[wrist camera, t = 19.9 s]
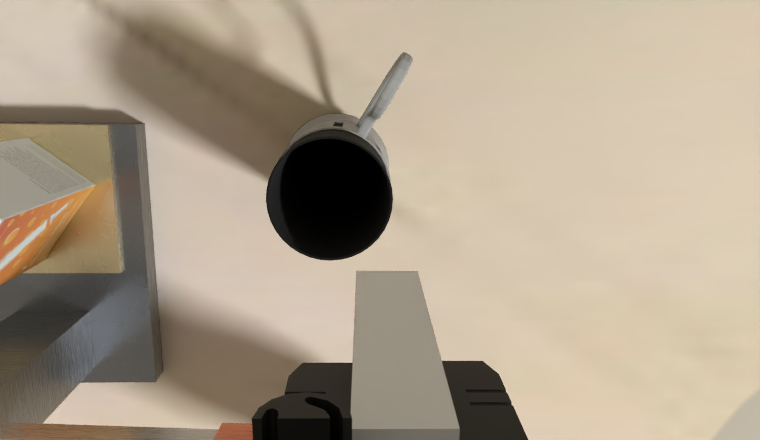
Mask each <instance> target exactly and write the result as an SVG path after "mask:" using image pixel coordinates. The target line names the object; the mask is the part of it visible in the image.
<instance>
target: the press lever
mask: <svg viewBox="0 0 760 440" xmlns="http://www.w3.org/2000/svg"><path fill="white" fill-rule="evenodd" d="M0 440H253V431H252V424H239V423H222V424H221V426H220V428H219V430H218V429H187V428H156V427H126V426H95V425H65V424H34V423H4V422H0Z"/></svg>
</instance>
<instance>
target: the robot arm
mask: <svg viewBox="0 0 760 440" xmlns="http://www.w3.org/2000/svg"><path fill="white" fill-rule="evenodd" d="M252 431H253V440H528V438H527V436H526V434H525V432H524V429H523V427H522V425H521V423H520V420H519V418H518V416H517V414H516V412H515V409H514V407H513V406H512V405H511V400H510V398H509V396H508V394H507V393H506V389H505V387H504V385H503V382H502V380H501V378H500V376H499V374H498V373H497V372H495V371H494V370H493V369H492V368H490V367H489V366H488V365H487V364H485V363H484V362H483V361H442V360H441V357H440V353H439V349H438V346H437V342H436V338H435V334H434V331H433V327H432V323H431V320H430V316H429V312H428V308H427V305H426V301H425V297H424V294H423V290H422V286H421V282H420V279H419V275H418V271H356V292H355V316H354V341H353V363H302V364H301V365H300V366H299V367H298V368H297V369H296V370H295V371H294V372H293V373H292V374H291V375H290V376H289V378H288V382H287V386H286V390H285V395H284V396H281V397H278V398H275V399H272V400H270V401H269V402H267V403H266V404H264V405H263V406H261V407H260V408H259V409H258V410H257V412H256V413H255V415H254V416H253V418H252Z"/></svg>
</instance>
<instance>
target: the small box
mask: <svg viewBox="0 0 760 440" xmlns="http://www.w3.org/2000/svg"><path fill="white" fill-rule="evenodd" d="M94 187H95V184H94V183H93V182H92V181H90V180H89V179H87V178H86V177H84V176H83V175H81V174H80V173H78V172H77V171H76V170H74V169H73V168H71V167H70V166H68V165H67V164H65V163H64V162H62V161H61V160H60V159H58V158H57V157H55V156H54V155H53V154H51V153H50V152H48V151H47V150H45V149H44V148H42V147H41V146H39V145H38V144H36V143H35V142H33V141H32V140H31V139H29V138H21V139H15V140H8V141H2V142H0V285H1V284H3V283H5V282H7V281H9V280H10V279H12V278H14V277H16V276H18V275H19V274H21V273H23V272H25V271H27V270H29V269H30V268H32V267H34V266H36V265H38V264H39V263H41V262H43V261H44V260H45V259H46V257H47V255H48V254H49V252H50V251H51V249H52V247H53V246H54V244H55V243H56V241H57V240H58V238H59V237H60V235H61V234H62V233H63V231H64V230H65V228H66V227H67V225H68V224H69V222H70V221H71V219H72V218H73V217H74V215H75V214H76V212H77V211H78V210H79V208H80V207H81V205H82V204H83V202H84V201H85V200H86V198H87V197H88V196H89V194H90V193H91V191H92V190H93V189H94Z"/></svg>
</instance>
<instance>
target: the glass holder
mask: <svg viewBox="0 0 760 440" xmlns="http://www.w3.org/2000/svg"><path fill="white" fill-rule="evenodd" d="M412 61H413V58H412V57H411V56H410V55H409V54H407V53H404V52H403V53H402V54H401V55H400V56H399V58H398V59H397V60H396V62H395V63H394V65H393V66H392V68H391V69H390V71H389V72H388V74H387V75H386V77H385V79H384V80H383V82H382V84H381V85H380V87H379V89H378V90H377V92H376V93H375V95H374V97H373V98H372V100H371V102H370V103H369V105H368V107H367V108H366V110H365V112H364V113H363V115H362V117H361V118H360V119H358V118H356V117H353V116H350V115H346V114H326V115H323V116H319V117H316V118H314V119H312V120H310V121H309V122H307V123H306V124H304V125H303V126H302V127H301V128H300V129H299V130H298V131H297V132H296V133H295V135H294V136H293V138H292V139H291V141H290V143H289V146H288V148H287V149H286V150H285V152H284V153H283V155H282V156H281V158H280V160H279V161H278V163H277V164H276V166H275V167H274V169H273V171H272V173H271V176H270V178H269V181H268V186H267V193H266V203H267V210H268V214H269V217H270V220H271V223H272V224H273V226H274V228H275V230H276V232H277V233H278V234H279V236H280V237H281V238H282V240H284V241H285V242H286V243H287V244H288V245H289V246H290V247H291V248H293V249H294V250H296V251H298V252H299V253H301V254H304V255H306V256H308V257H311V258H315V259H319V260H341V259H345V258H349V257H352V256H354V255H357V254H359V253H361V252H363V251H364V250H366V249H367V248H368V247H370V246H371V245H372V244H373V243H374V242H375V241H376V240H377V239H378V238H379V237H380V235H381V234H382V232H383V231H384V230H385V227H386V225H387V223H388V221H389V218H390V215H391V211H392V202H393V196H392V187H391V183H390V175H389V171H388V170H389V162H388V155H387V151H386V148H385V146H384V143H383V141H382V139H381V138H380V136H379V135H378V134H377V132H376V131H375V130H374V129H373V128H372V126H373V125H374V123H375V121H376V120H377V119H378V118H380V117H381V115H382V114H383V113H384V111H385V110H386V108H387V107H388V105H389V104H390V102H391V101H392V99H393V97H394V96H395V94H396V92H397V90H398V89H399V87H400V85H401V83H402V81H403V80H404V78H405V76H406V74H407V72H408V70H409V68H410V66H411V63H412Z"/></svg>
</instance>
